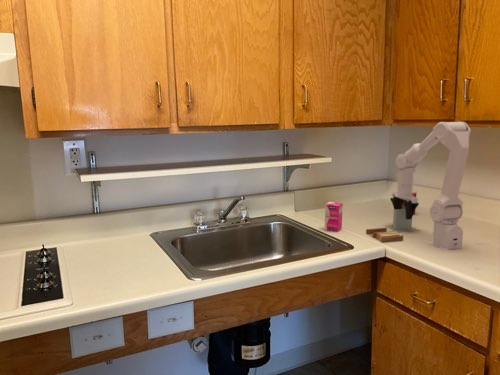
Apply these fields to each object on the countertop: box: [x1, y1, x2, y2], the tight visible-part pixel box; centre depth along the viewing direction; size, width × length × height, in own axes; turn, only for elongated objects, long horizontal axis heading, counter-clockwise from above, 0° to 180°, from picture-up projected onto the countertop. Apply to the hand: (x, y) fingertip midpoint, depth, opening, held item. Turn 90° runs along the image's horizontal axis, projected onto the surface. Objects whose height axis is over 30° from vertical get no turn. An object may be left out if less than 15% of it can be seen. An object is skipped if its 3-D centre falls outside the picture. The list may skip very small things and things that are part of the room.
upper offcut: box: [377, 231, 400, 238], centre depth 152 cm, size 4×7×1 cm, turn 103°
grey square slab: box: [392, 209, 413, 230], centre depth 166 cm, size 2×8×8 cm, turn 103°
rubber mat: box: [384, 225, 421, 234], centre depth 166 cm, size 10×10×1 cm
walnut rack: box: [365, 227, 404, 244], centre depth 154 cm, size 12×9×2 cm
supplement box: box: [324, 201, 344, 233], centre depth 165 cm, size 6×6×12 cm
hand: (403, 216), depth 165 cm, fingers open, 7 cm apart
